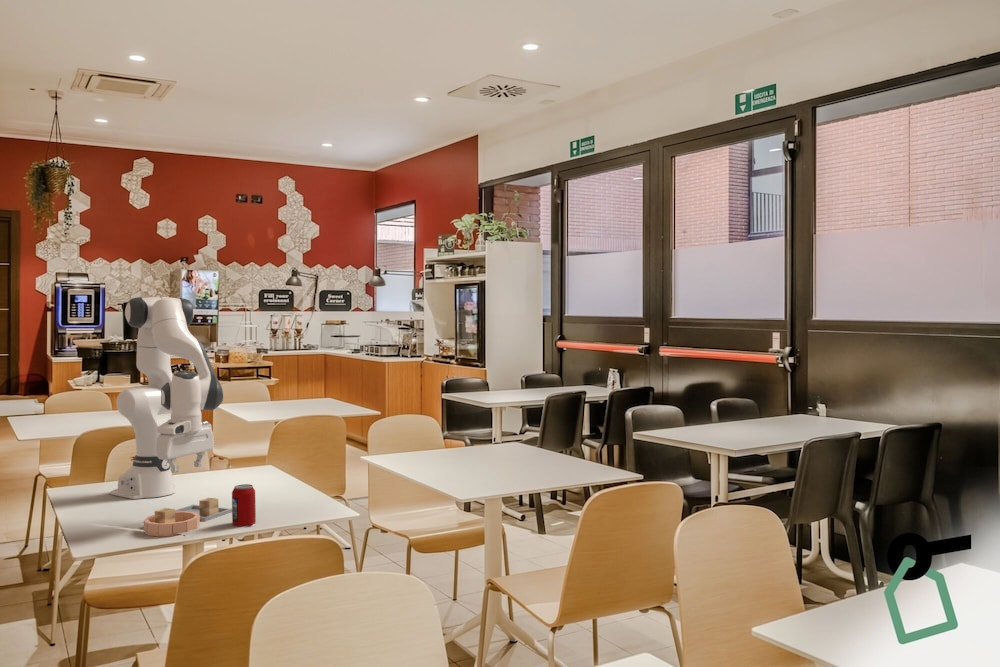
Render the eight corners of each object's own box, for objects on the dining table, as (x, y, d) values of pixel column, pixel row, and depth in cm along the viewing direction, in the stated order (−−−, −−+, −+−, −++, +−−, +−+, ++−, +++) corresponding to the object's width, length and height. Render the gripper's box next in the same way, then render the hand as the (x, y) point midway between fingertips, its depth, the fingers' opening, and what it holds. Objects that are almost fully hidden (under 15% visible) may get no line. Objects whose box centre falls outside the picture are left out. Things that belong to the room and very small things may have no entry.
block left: (154, 527, 241) (154, 511, 241) (165, 524, 245) (164, 508, 245) (165, 529, 240) (164, 512, 240) (175, 525, 243) (175, 509, 243)
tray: (165, 518, 255) (165, 513, 255) (193, 509, 266) (193, 504, 266) (205, 523, 249) (205, 517, 249) (232, 513, 260) (232, 508, 260)
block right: (199, 516, 255) (199, 500, 254) (208, 513, 258) (208, 497, 258) (209, 517, 253) (209, 501, 253) (218, 514, 257) (218, 498, 257)
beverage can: (235, 522, 249) (234, 484, 248) (257, 522, 249) (257, 483, 249) (229, 528, 242) (229, 488, 242) (253, 528, 242) (252, 488, 242)
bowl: (133, 533, 237) (133, 521, 237) (171, 521, 251) (171, 509, 251) (172, 538, 232) (172, 526, 231) (209, 525, 245) (209, 513, 245)
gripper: (203, 419, 259) (203, 462, 260) (152, 428, 241) (152, 474, 241) (218, 421, 257) (218, 464, 257) (168, 429, 238) (168, 476, 239)
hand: (186, 469), depth 249 cm, fingers open, 8 cm apart
